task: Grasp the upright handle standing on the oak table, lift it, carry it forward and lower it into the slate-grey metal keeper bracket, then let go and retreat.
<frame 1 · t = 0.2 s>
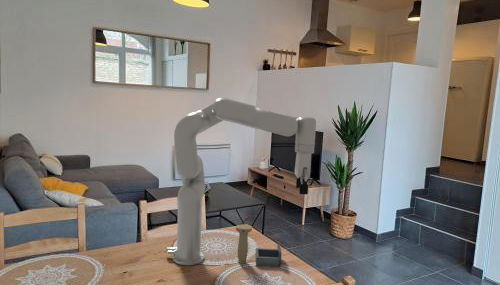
hand: (301, 190, 141), 31 cm above the table, tool pointing down, fingers open, 9 cm apart
handle: (242, 262, 144), on the table
keeper: (267, 261, 146), on the table
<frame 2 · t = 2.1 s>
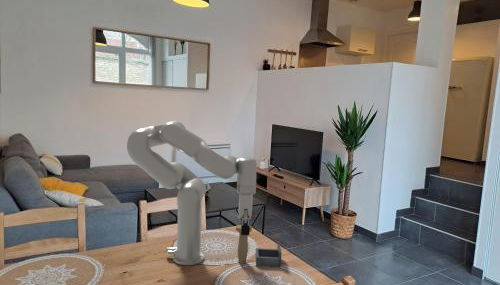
hand: (245, 230, 142), 14 cm above the table, tool pointing down, fingers open, 9 cm apart
nothing on the table moved.
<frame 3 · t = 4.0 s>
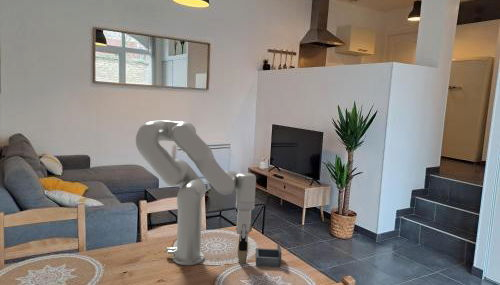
hand: (242, 247, 143), 6 cm above the table, tool pointing down, fingers closed on handle, 3 cm apart
handle: (242, 262, 144), on the table, touching gripper
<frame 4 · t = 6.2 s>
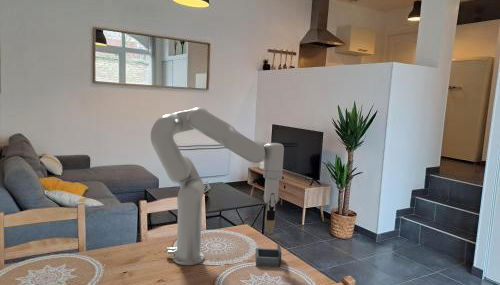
hand: (270, 217, 144), 19 cm above the table, tool pointing down, fingers closed on handle, 3 cm apart
handle: (269, 232, 145), point 12 cm above the table, touching gripper
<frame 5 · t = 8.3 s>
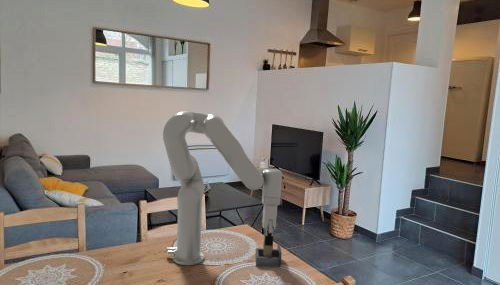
hand: (268, 242, 145), 8 cm above the table, tool pointing down, fingers closed on handle, 3 cm apart
handle: (267, 257, 146), point 2 cm above the table, touching gripper
when the fingers open (8 cm above the table, at t = 8.7 s): handle drops 1 cm, resting on keeper.
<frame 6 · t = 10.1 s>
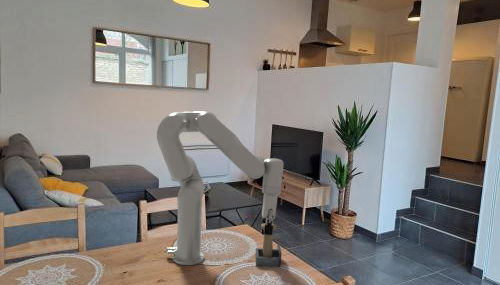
hand: (267, 230, 144), 13 cm above the table, tool pointing down, fingers open, 9 cm apart
handle: (267, 260, 146), resting on keeper
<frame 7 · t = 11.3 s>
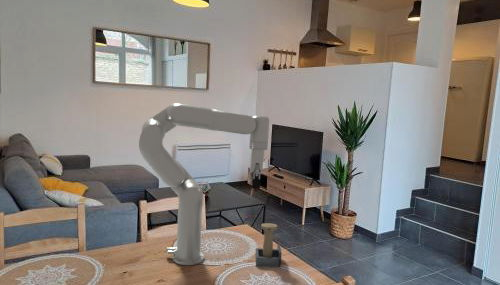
hand: (255, 185, 150), 30 cm above the table, tool pointing down, fingers open, 9 cm apart
nothing on the table moved.
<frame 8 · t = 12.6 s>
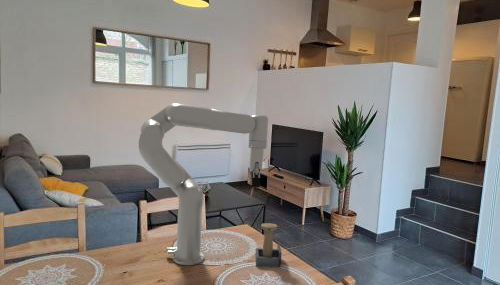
hand: (255, 184, 150), 30 cm above the table, tool pointing down, fingers open, 9 cm apart
nothing on the table moved.
at the end: handle 0.2 cm off-centre on the keeper, point 0.2 cm above the keeper's base; handle tilted 0°; the gripper is holding nothing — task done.
